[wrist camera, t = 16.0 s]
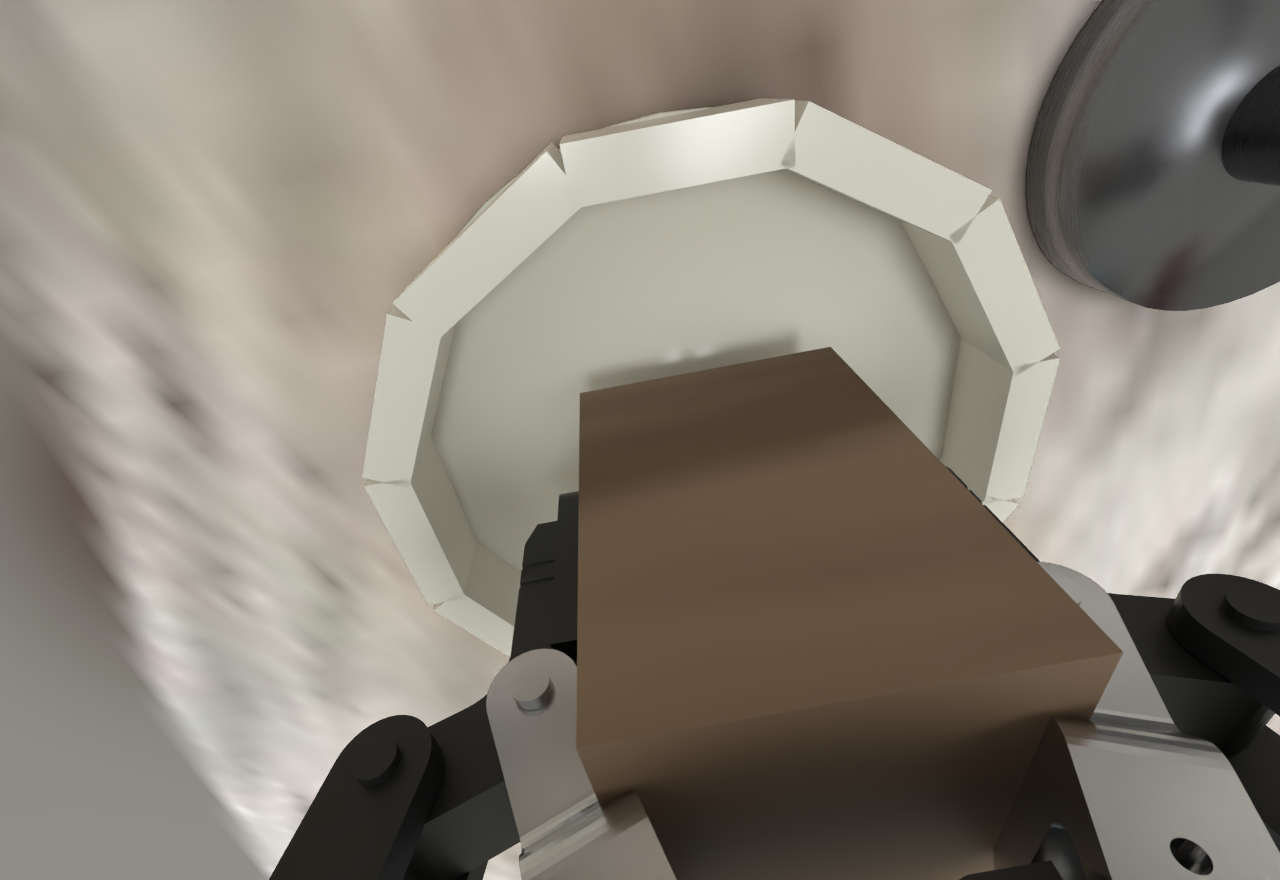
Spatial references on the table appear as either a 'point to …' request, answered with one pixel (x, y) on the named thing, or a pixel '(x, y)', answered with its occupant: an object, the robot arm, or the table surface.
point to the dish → (691, 320)
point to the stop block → (808, 631)
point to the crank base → (1164, 153)
